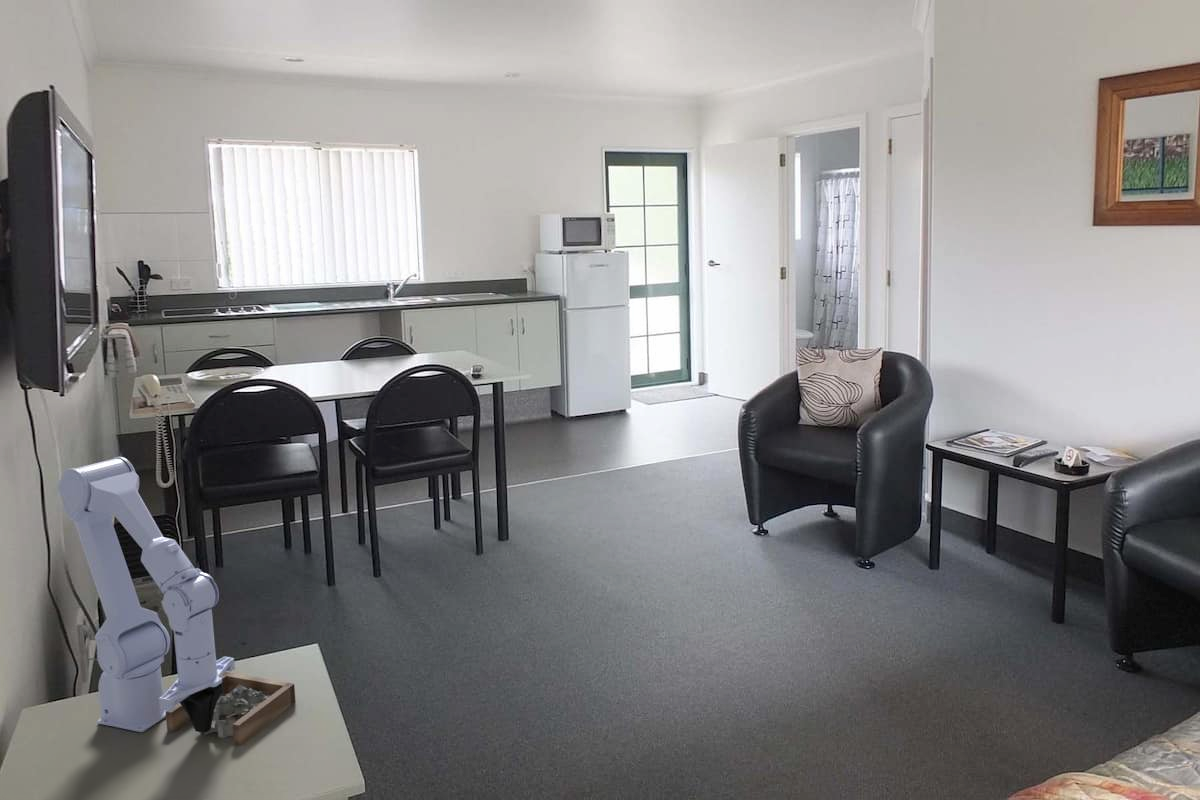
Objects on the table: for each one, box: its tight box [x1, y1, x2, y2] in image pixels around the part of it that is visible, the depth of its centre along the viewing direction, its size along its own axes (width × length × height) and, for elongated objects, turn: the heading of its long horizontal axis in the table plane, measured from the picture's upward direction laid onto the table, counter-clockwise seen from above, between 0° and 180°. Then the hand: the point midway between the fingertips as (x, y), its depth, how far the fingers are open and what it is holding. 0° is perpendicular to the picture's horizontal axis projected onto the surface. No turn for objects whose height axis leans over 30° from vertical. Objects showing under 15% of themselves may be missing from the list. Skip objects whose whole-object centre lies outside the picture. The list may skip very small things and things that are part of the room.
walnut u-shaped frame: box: [165, 671, 296, 746], centre depth 155 cm, size 14×14×4 cm
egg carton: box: [204, 685, 270, 739], centre depth 153 cm, size 11×8×4 cm
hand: (203, 730), depth 148 cm, fingers closed
